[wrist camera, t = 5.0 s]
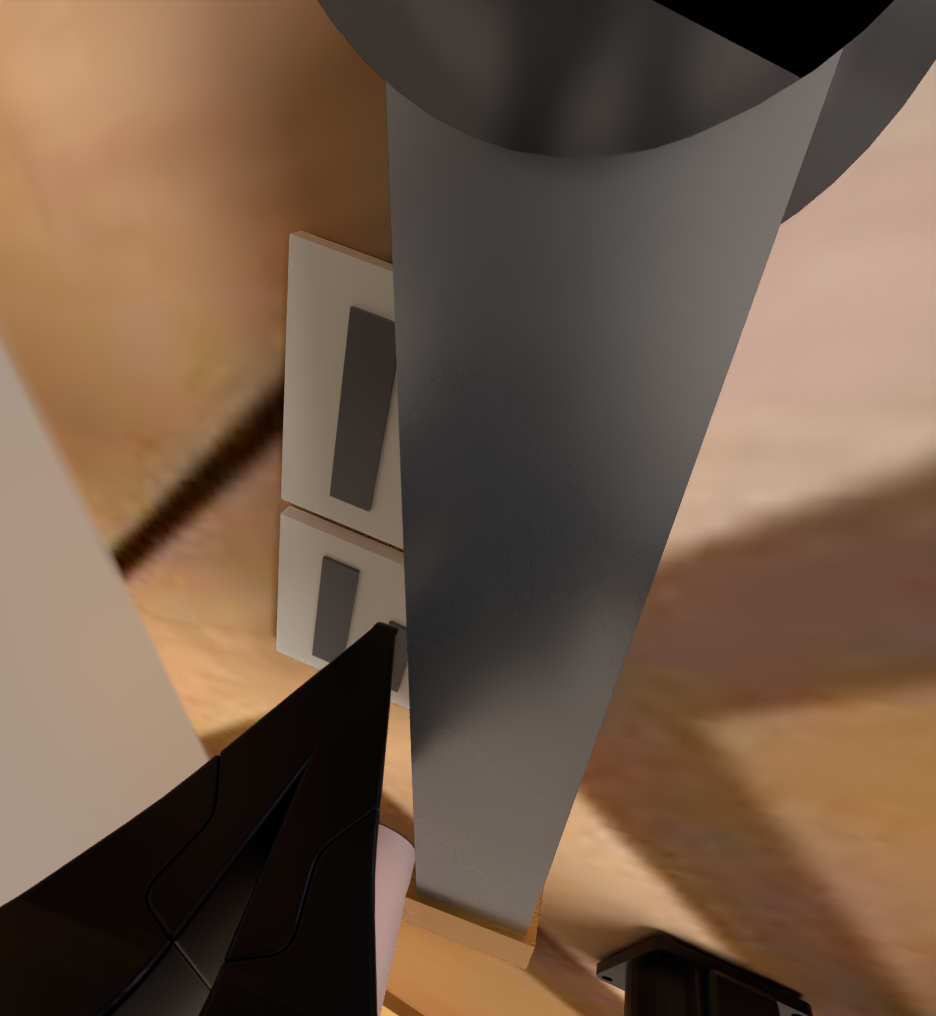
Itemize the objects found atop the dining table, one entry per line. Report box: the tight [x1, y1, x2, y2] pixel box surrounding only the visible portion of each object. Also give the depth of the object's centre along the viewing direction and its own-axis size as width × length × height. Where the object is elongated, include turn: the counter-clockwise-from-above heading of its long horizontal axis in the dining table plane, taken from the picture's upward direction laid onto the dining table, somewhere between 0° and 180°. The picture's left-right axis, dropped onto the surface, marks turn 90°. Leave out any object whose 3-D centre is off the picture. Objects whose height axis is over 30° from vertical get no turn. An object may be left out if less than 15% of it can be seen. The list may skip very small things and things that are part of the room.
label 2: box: [276, 505, 410, 710], centre depth 14 cm, size 6×6×1 cm
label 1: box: [281, 231, 403, 549], centre depth 10 cm, size 6×6×1 cm
